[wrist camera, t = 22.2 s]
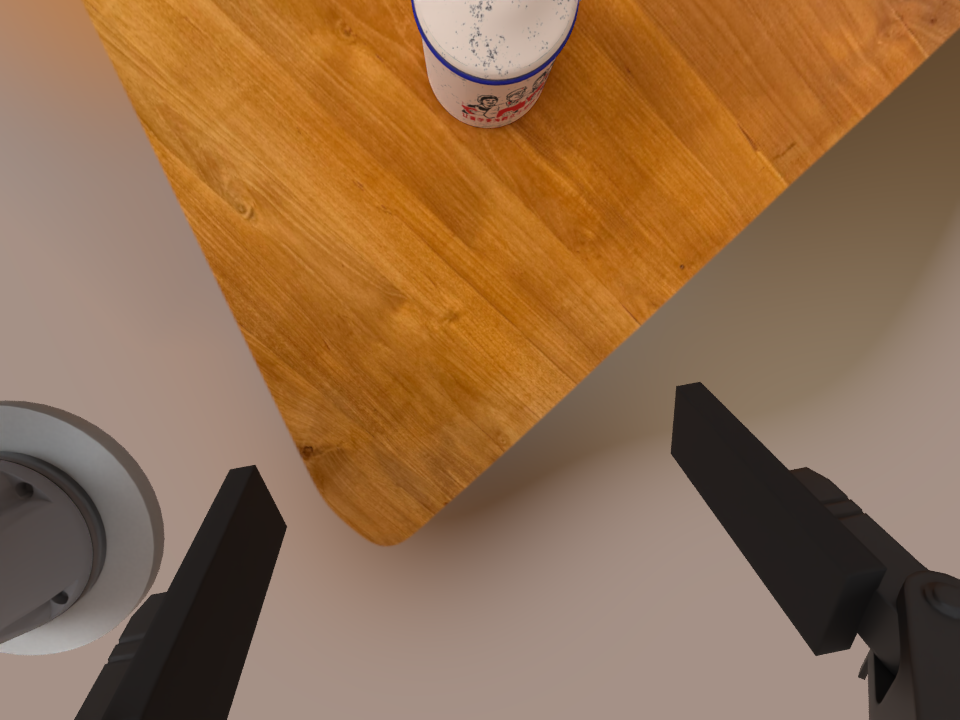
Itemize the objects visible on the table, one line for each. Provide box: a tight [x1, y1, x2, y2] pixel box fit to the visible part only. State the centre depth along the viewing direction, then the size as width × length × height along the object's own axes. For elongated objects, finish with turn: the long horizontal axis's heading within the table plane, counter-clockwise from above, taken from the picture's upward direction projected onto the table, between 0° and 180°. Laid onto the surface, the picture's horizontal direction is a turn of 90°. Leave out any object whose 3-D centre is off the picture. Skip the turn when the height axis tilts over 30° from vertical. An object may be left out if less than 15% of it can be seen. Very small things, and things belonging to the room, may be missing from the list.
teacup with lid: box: [411, 0, 581, 128], centre depth 27 cm, size 12×9×12 cm
